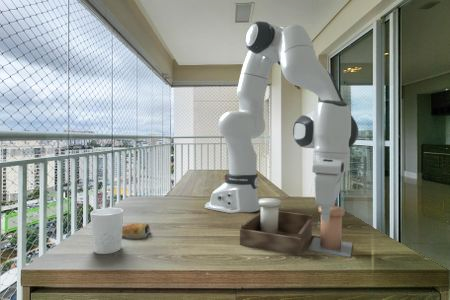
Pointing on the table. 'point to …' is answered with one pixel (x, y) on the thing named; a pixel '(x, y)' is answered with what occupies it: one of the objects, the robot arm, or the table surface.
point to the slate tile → (344, 250)
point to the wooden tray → (279, 233)
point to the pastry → (136, 230)
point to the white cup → (107, 230)
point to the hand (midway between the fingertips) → (328, 215)
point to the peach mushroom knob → (332, 229)
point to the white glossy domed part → (269, 215)
